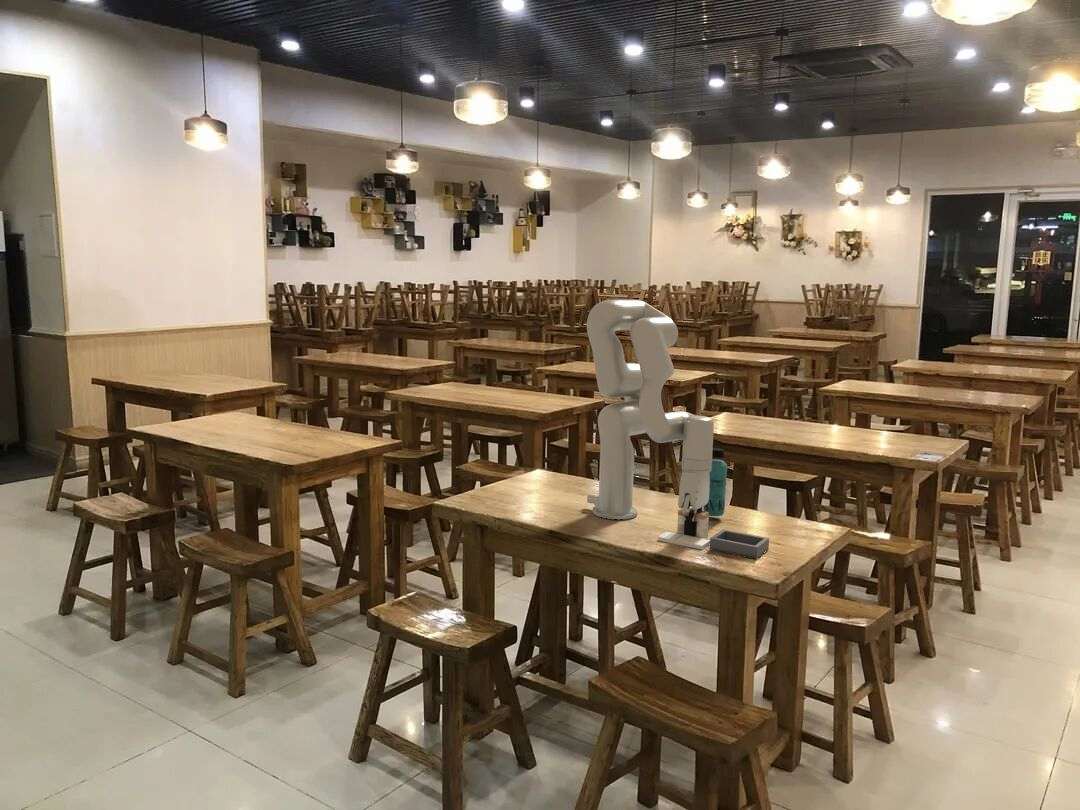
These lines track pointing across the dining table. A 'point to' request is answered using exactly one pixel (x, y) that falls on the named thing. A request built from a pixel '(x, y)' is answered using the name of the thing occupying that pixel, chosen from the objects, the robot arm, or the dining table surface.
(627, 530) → the dining table surface
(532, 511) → the dining table surface
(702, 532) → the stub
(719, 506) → the beverage bottle
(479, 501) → the dining table surface
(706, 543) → the cream slab
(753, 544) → the tray
